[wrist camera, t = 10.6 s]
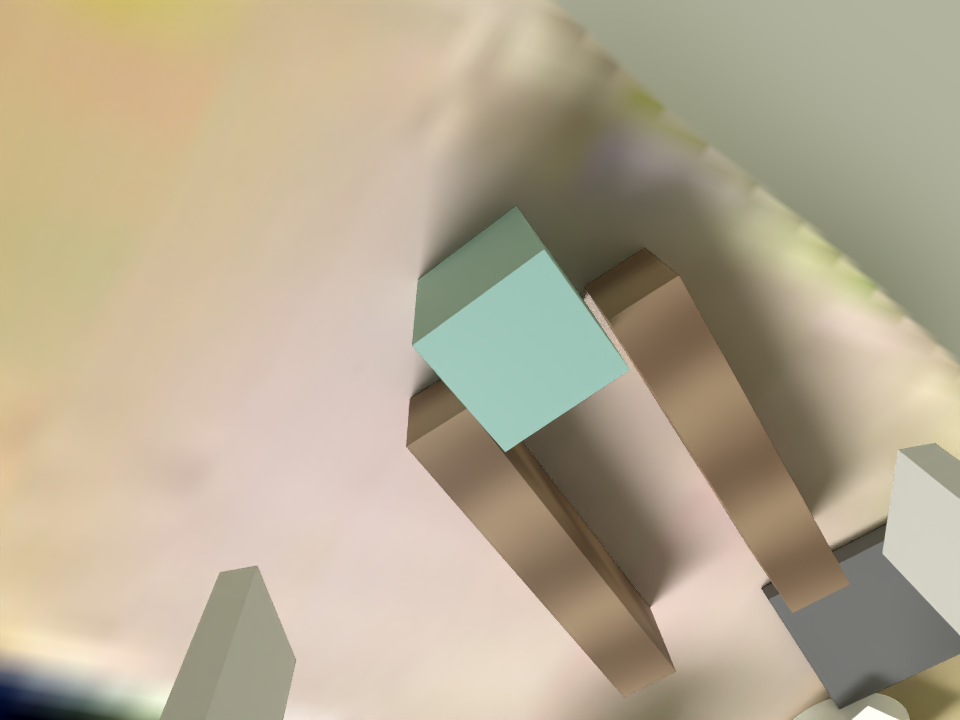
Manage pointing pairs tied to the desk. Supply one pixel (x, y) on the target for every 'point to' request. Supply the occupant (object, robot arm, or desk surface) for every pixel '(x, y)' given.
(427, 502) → the desk surface
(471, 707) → the desk surface
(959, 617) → the robot arm
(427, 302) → the teal block
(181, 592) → the desk surface
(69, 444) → the desk surface
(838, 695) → the rubber mat
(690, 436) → the parallel wooden bars
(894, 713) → the hourglass
